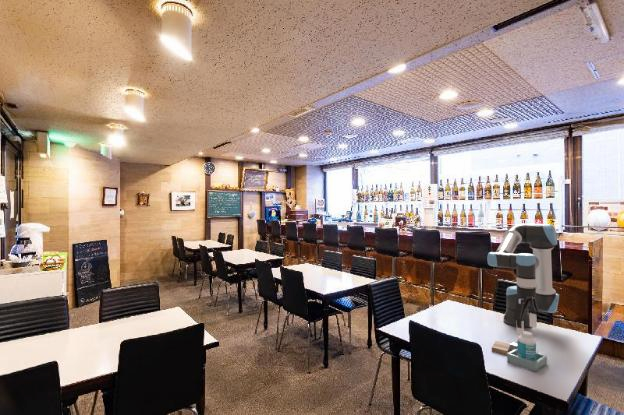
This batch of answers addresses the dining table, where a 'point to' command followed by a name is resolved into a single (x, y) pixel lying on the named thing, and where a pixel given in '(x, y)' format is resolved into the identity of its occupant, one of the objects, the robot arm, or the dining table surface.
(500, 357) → the dining table surface
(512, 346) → the bench dog
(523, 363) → the tray
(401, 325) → the dining table surface
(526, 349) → the pill bottle
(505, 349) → the flat wooden block
